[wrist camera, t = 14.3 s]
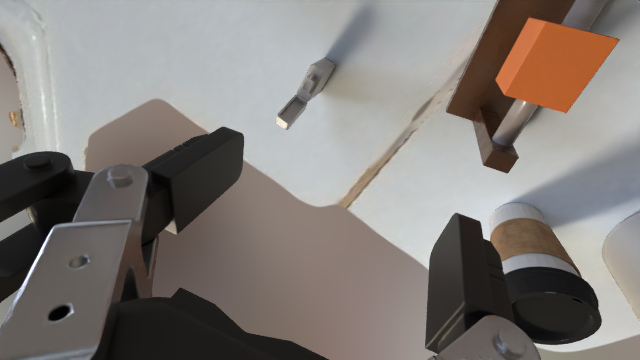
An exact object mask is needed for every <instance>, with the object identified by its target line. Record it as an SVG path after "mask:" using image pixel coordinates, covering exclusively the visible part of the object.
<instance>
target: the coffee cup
mask: <svg viewBox="0 0 640 360" xmlns="http://www.w3.org/2000/svg"><path fill="white" fill-rule="evenodd" d="M490 242H492V244H493V245H494V247H495V248H496V250H497V251H498V253H499V254H500V256H501V261H502V266H503V272H504V275H505V279H506V281H505V283H506V284H507V288H508V293H509V297H510V302H511V306H512V311H513V315H514V320H515V324H516V325H517V326H518V327H519V328H520V329H521V330H523V331H524V332H525V333H526V334H527V335H528V337H529V338H530V339H531V340H532V342H533V343H538V344H546V345H559V344H568V343H573V342H576V341H580V340H583V339H585V338H587V337H589V336H591V335H592V334H594V333H595V332H596V331H597V330H598V329H599V328H600V326H601V322H602V319H601V315H600V312H599V309H598V299H597V297H596V294H595V292H594V290H593V288H592V287H591V286H590V285H589V284H588V283H587V282H586V281H585V280H584V279H582V277H581V274H580V272H579V270H578V269H577V267H576V266H575V264H574V263H573V261H572V260H571V258H570V257H569V255H568V254H567V252H566V251H565V249H564V248H563V246H562V245H561V243H560V242H559V240H558V239H557V237H556V236H555V234H554V233H553V231H552V230H551V229H550V227H549V226H548V224H547V222H546V221H545V219H544V217H543V216H542V214H541V213H540V212H539V211H538V210H537V209H536V208H535V207H533V206H531V205H528V204H525V203H509V204H505V205H503V206H500V207H499V208H497V209H496V210H495V211H494V212H493V213H492V215H491V217H490Z"/></svg>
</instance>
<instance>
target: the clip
mask: <svg viewBox="0 0 640 360" xmlns="http://www.w3.org/2000/svg"><path fill="white" fill-rule="evenodd" d="M619 40H620V39H617V38H613V37H609V36H605V35H601V34H597V33H592V32H588V31H584V30H580V29H576V28H572V27H568V26H564V25H560V24H556V23H552V22H548V21H544V20H539V19H535V18H531V17H529V18H528V20H527V22H526V24H525V26H524V27H523V29H522V31H521V33H520V35H519V37H518V39H517V40H516V42H515V44H514V46H513V48H512V50H511V52H510V53H509V55H508V57H507V59H506V61H505V63H504V64H503V66H502V68H501V70H500V72H499V74H498V76H497V77H496V79H495V80H496V82H497V84H498V85H499V87H500V89H501V90H502V92H503V94H504V95H506V96H509V97H513V98H516V99H520V100H523V101H526V102H530V103H533V104H537V105H540V106H543V107H547V108H550V109H554V110H557V111H560V112H564V113H567V112H568V110H569V109H570V108H571V106H572V105H573V103H574V102H575V101H576V99H577V98H578V97H579V95H580V94H581V92H582V91H583V90H584V88H585V87H586V86H587V84H588V83H589V81H590V80H591V79H592V77H593V76H594V75H595V73H596V72H597V70H598V69H599V68H600V66H601V65H602V64H603V62H604V61H605V59H606V58H607V57H608V55H609V54H610V53H611V51H612V50H613V48H614V47H615V46H616V44H617V43H618V42H619Z"/></svg>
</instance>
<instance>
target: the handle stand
mask: <svg viewBox="0 0 640 360" xmlns="http://www.w3.org/2000/svg"><path fill="white" fill-rule="evenodd" d="M607 1H608V0H497V2H496V4H495V6H494V8H493V10H492V13H491V15H490V17H489V19H488V21H487V23H486V25H485V27H484V29H483V32H482V34H481V36H480V38H479V40H478V42H477V44H476V46H475V49H474V51H473V53H472V55H471V57H470V59H469V61H468V63H467V65H466V68H465V70H464V72H463V74H462V76H461V78H460V80H459V82H458V85H457V87H456V89H455V91H454V93H453V95H452V97H451V99H450V101H449V104H448V106H447V108H446V112H447V113H450V114H453V115H456V116H460V117H463V118H466V119H469V120H472V121H473V124H474V129H475V133H476V137H477V141H478V145H479V150H480V154H481V158H482V162H483V165H484V166H487V167H490V168H493V169H496V170H499V171H502V172H505V173H508V172H509V171H510V170H511V168H512V167H513V165H514V164H515V162H516V161H517V159H518V158H519V157H518V155H517V152H516V150H515V148H514V146H513V143H514V142H515V140H516V139H517V137H518V136H519V134H520V133H521V131H522V130H523V128H524V127H525V125H526V124H527V122H528V121H529V119H530V118H531V116H532V115H533V113H534V111H535V110H536V108H537V107H538V105H537V104H533V103H530V102H526V101H523V100H520V99H516V98H513V97H509V96H506V95H504V94H503V92H502V90H501V89H500V87H499V85H498V84H497V82H496V80H495V79H496V77H497V76H498V74H499V72H500V70H501V68H502V66H503V64H504V63H505V61H506V59H507V57H508V55H509V53H510V52H511V50H512V48H513V46H514V44H515V42H516V40H517V39H518V37H519V35H520V33H521V31H522V29H523V27H524V26H525V24H526V22H527V20H528V18H529V17H531V18H535V19H539V20H544V21H548V22H552V23H556V24H560V25H564V26H568V27H572V28H576V29H580V30H584V31H588V30H589V28H590V27H591V25H592V24H593V22H594V20H595V19H596V17H597V16H598V14H599V13H600V11H601V10H602V8H603V7H604V5H605V4H606V2H607Z"/></svg>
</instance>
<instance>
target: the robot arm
mask: <svg viewBox="0 0 640 360" xmlns="http://www.w3.org/2000/svg"><path fill="white" fill-rule="evenodd" d="M243 149H244V136H243V134H242V133H240V132H237V131H235V130H232V129H229V128H226V127H221V128H219V129H217V130H216V131H214V132H212V133H210V134H209V135H208V134H205V135H201V136H197V137H193V138H191V139H190V140H188V141H186V142H184V143H183V144H182V145H179V146H177V147H175V148H174V149H173V150H170V151H168V152H166V153H165V154H163V155H161V156H159V157H157V158H156V159H154V160H152V161H150V162H148V163H147V164H145V165H143V166H141V167H140V166H137V165H131V164H119V165H113V166H109V167H106V168H104V169H102V170H100V171H98V172H97V173H92V172H85V171H79V170H74V169H73V166H72V163H71V160H70V158H69V157H68V156H67V155H65V154H63V153H59V152H52V151H44V152H35V153H30V154H26V155H23V156H20V157H18V158H15V159H13V160H11V161H8V162H6V163H3V164H1V165H0V222H2V221H4V220H6V219H7V218H10V217H11V216H13V215H15V214H17V213H19V212H20V211H22V210H24V209H26V211H27V213H28V215H29V217H30V219H31V221H32V223H30V224H29V225H27V226H25V227H24V228H22V229H21V230H19V231H17V232H15V233H14V234H12V235H10V236H9V237H7V238H5V239H3V240H2V241H0V302H1V301H3V300H4V299H6V298H7V297H8V296H10V295H11V294H13V293H14V292H15V291H17V290H18V289H19V288H21V289H20V291H19V293H18V295H17V297H16V299H15V301H14V303H13V304H12V306H11V308H10V310H9V312H8V314H7V316H6V318H5V320H4V322H3V324H2V326H1V328H0V360H329V359H326V358H325V357H323V356H320V355H318V354H316V353H314V352H312V351H310V350H308V349H306V348H304V347H302V346H300V345H298V344H296V343H293V342H292V341H287V340H281V339H276V338H271V337H266V336H260V335H255V334H250V333H247V332H245V331H244V330H242V329H241V328H240V327H239V326H238V325H237V324H236V323H235V322H234V321H233V320H231V319H230V318H229V317H228V316H227V315H226V314H225V313H224V312H223V311H222V310H221V309H219V308H218V307H217V306H216V305H215V304H213V303H211V302H209V301H207V300H205V299H203V298H201V297H199V296H197V295H195V294H193V293H191V292H189V291H187V290H185V289H183V288H179V289H178V290H177V292H176V293H175V294H174V295H173V296H172V297H171V298H167V297H165V298H164V297H152V283H153V276H154V269H155V263H156V255H157V248H158V242H159V236H158V234H159V233H160V232H161V231H162V230H164V229H166V230H168V231H170V232H172V233H174V234H178V233H179V232H181V231H182V230H183V229H184V228H185V227H186V226H187V225H188V224H189V223H190V222H192V221H193V220H194V219H195V218H196V217H197V216H198V215H199V214H201V213H202V212H203V211H204V210H205V209H206V208H207V207H208V206H210V205H211V204H212V203H213V202H214V201H215V200H216V199H217V198H219V197H220V196H221V195H222V194H223V193H224V192H225V191H226V190H228V189H229V188H230V187H231V186H232V185H233V184H234V183H235V182H236V181H237V180H238V179H239V177H240V175H241V172H242V166H243ZM505 281H506V279H505V275H504V272H503V266H502V261H501V256H500V254H499V253H498V251H497V250H496V248H495V247H494V245H493V244H492V242H490V241H488V240H485V239H483V234H482V228H481V223H480V221H477V220H475V219H472V218H469V217H467V216H464V215H461V214H458V213H455V214H454V215H453V216H452V218H451V219H450V221H449V222H448V224H447V226H446V227H445V229H444V230H443V232H442V234H441V235H440V237H439V238H438V240H437V242H436V243H435V245H434V247H433V250H432V252H431V256H430V263H429V283H428V302H427V322H426V342H425V348H426V349H428V350H431V351H433V352H435V353H437V354H438V355H437V356H432V357H430V358H429V359H428V360H541V358H540V355H539V352H538V350H537V348H536V346H535V345H534V343H533V342H532V340H531V339H530V338H529V337H528V335H527V334H526V333H525V332H524V331H523V330H521V329H520V328H519V327H518V326H517V325H516V324H515V320H514V315H513V311H512V306H511V302H510V297H509V293H508V288H507V284H506V283H505Z"/></svg>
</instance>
